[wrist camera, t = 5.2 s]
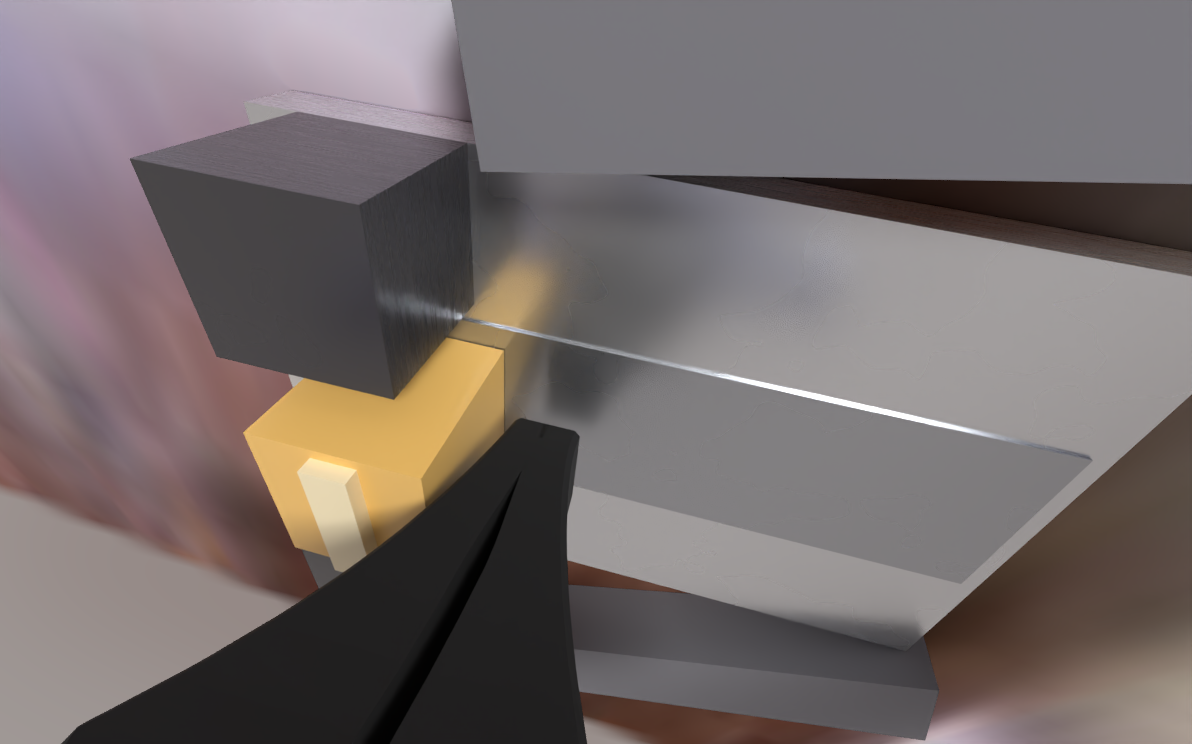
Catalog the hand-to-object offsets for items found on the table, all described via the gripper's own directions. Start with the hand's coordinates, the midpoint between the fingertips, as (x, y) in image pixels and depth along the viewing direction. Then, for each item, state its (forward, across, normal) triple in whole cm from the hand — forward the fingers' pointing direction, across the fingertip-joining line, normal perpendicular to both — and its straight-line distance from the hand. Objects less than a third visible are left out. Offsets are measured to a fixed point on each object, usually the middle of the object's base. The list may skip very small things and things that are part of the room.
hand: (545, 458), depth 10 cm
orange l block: (+1, +3, 0) cm, 3 cm away
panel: (+2, -2, 0) cm, 3 cm away
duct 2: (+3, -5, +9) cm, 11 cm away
